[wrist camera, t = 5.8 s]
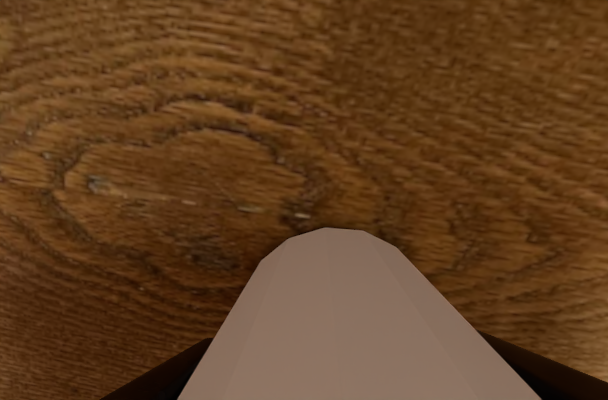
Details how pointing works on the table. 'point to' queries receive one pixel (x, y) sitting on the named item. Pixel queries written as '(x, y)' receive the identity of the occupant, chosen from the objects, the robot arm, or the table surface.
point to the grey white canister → (347, 332)
